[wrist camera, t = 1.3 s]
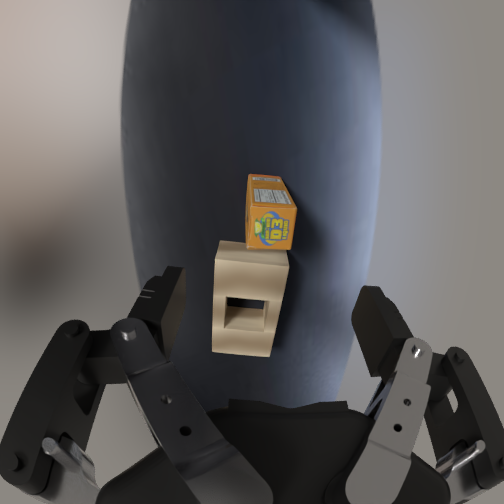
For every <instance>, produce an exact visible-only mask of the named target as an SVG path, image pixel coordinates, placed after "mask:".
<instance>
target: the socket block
mask: <svg viewBox="0 0 504 504" xmlns="http://www.w3.org/2000/svg"><path fill="white" fill-rule="evenodd" d="M288 271H289V262H288V257H287V252H286V250H280V249H257V250H248V249H247V248H246V243H240V242H230V241H220V243H219V247H218V251H217V254H216V258H215V274H214V298H213V330H212V352H220V353H230V354H240V355H251V356H264V357H269V356H270V352H271V348H272V344H273V339H274V335H275V331H276V326H277V322H278V317H279V313H280V308H281V304H282V299H283V294H284V290H285V285H286V280H287V275H288ZM227 297H235V298H245V299H255V300H265V303H264V309H253V308H242V307H233V306H227Z"/></svg>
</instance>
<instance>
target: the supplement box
mask: <svg viewBox="0 0 504 504" xmlns="http://www.w3.org/2000/svg"><path fill="white" fill-rule="evenodd" d="M296 213H297V207H296V205H295V204H294V202H293V200H292V198H291V196H290V194H289V192H288V190H287V188H286V187H285V185H284V183H283V181H282V179H281V177H277V176H268V175H257V174H249V176H248V185H247V199H246V248H247V249H248V250H257V249H280V250H290V249H291V245H292V240H293V234H294V227H295V220H296Z"/></svg>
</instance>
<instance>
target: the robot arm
mask: <svg viewBox="0 0 504 504" xmlns="http://www.w3.org/2000/svg"><path fill="white" fill-rule="evenodd" d="M185 304H186V280H185V268H181V267H173V266H167V268H166V270H165V272H164V274H163V275H162V277H161V276H154V277H153V278H151V279H150V280H149V281H147V283H146V284H145V286H144V288H143V291H141V293H140V295H139V297H138V298H137V300H136V302H135V304H134V306H133V308H132V309H131V311H130V313H129V315H128V317H127V318H125V319H121V320H119V321H117V322H116V323H114V325H113V326H112V327H111V329H110V330H99V331H90V329H89V326H88V325H87V324H86V323H85V322H83V321H81V320H70V321H67V322H65V323H63V324H62V325H61V326H60V327H59V328H58V329H57V331H56V333H55V334H54V336H53V337H52V339H51V341H50V342H49V344H48V346H47V348H46V349H45V351H44V353H43V354H42V356H41V358H40V360H39V361H38V363H37V365H36V367H35V369H34V371H33V373H32V374H31V377H30V378H29V380H28V382H27V384H26V386H25V388H24V390H23V392H22V394H21V397H20V398H19V401H18V403H17V405H16V407H15V409H14V412H13V414H12V416H11V418H10V421H9V423H8V426H7V428H6V431H5V433H4V436H3V439H2V441H1V444H0V474H1V476H2V477H3V479H4V480H6V481H7V482H8V483H10V484H12V485H13V486H15V487H17V488H19V489H20V490H21V491H23V492H24V493H26V494H27V495H30V496H32V497H33V498H35V499H38V500H39V501H42V502H44V503H48V504H463V503H465V502H467V501H469V500H471V499H473V498H475V497H476V496H478V495H480V494H482V493H484V492H486V491H487V490H489V489H491V488H492V487H494V486H496V485H497V484H499V483H500V482H502V481H504V428H503V426H502V423H501V421H500V419H499V416H498V414H497V411H496V409H495V407H494V405H493V402H492V400H491V398H490V396H489V394H488V392H487V390H486V387H485V386H484V384H483V382H482V380H481V377H480V376H479V374H478V372H477V370H476V368H475V366H474V364H473V362H472V360H471V359H470V357H469V355H468V354H467V353H466V352H465V351H464V350H463V349H461V348H458V347H450V348H449V349H448V351H447V352H446V354H445V355H442V354H438V353H433V352H432V349H431V347H430V346H429V345H428V344H427V343H426V342H425V341H423V340H421V339H419V338H414V337H413V335H412V333H411V332H410V330H409V328H408V326H407V324H406V322H405V321H404V320H403V317H402V315H401V314H400V313H399V310H398V309H397V307H396V306H395V304H394V303H393V302H392V301H390V299H389V298H386V297H385V295H384V293H383V292H382V290H381V288H380V287H377V286H363V287H362V288H361V291H360V293H359V296H358V299H357V301H356V304H355V307H354V309H353V312H352V318H351V320H352V326H353V328H354V331H355V334H356V336H357V339H358V342H359V344H360V347H361V350H362V353H363V355H364V358H365V361H366V364H367V367H368V370H369V373H370V375H371V377H378V376H381V378H382V380H381V381H380V383H379V384H378V387H377V389H376V391H375V393H374V395H373V397H372V399H371V401H370V403H369V405H368V407H367V409H366V411H365V413H364V414H363V413H361V412H358V411H355V410H351V409H348V405H347V401H334V402H318V403H314V404H310V405H306V406H302V407H297V408H285V407H281V406H277V405H273V404H269V403H265V402H261V401H250V400H237V399H229V404H228V407H223V408H218V409H214V410H211V411H208V412H206V413H205V411H204V410H203V408H202V407H201V405H200V404H199V403H198V401H197V400H196V398H195V397H194V395H193V394H192V392H191V391H190V389H189V388H188V386H187V385H186V383H185V382H184V380H183V379H182V377H181V375H180V374H179V372H178V371H177V369H176V367H175V366H174V364H173V363H172V362H171V361H168V360H169V357H170V354H171V350H172V347H173V344H174V341H175V338H176V334H177V331H178V328H179V325H180V322H181V319H182V316H183V313H184V309H185ZM121 383H127V385H128V388H129V390H130V392H131V394H132V397H133V399H134V401H135V403H136V405H137V407H138V409H139V411H140V413H141V415H142V417H143V420H144V421H145V424H146V426H147V428H148V430H149V432H150V434H151V436H152V437H153V439H154V441H155V443H156V445H157V446H158V448H156V449H155V450H153V451H152V452H151V453H149V454H148V455H147V456H145V457H144V458H142V459H141V460H140V461H138V462H137V463H135V464H134V465H133V466H131V467H130V468H128V469H127V470H125V471H124V472H122V473H121V474H119V475H118V476H116V477H115V478H113V479H112V480H110V481H109V482H107V483H106V484H105V485H104V486H103V487H102V488H101V489H100V488H99V487H98V485H97V484H96V481H95V467H94V464H93V462H92V460H91V458H90V457H89V456H88V455H87V454H86V453H85V450H86V446H87V442H88V439H89V436H90V432H91V429H92V425H93V422H94V419H95V416H96V413H97V410H98V407H99V404H100V400H101V397H102V394H103V392H104V389H105V386H106V384H121ZM452 389H453V391H454V393H455V396H456V398H457V401H458V408H457V410H456V412H455V413H454V412H453V410H452V407H451V404H450V402H449V399H448V397H447V394H448V393H449V392H450V391H451V390H452ZM423 416H424V418H425V421H426V425H427V428H428V431H429V435H430V438H431V442H432V445H433V449H434V453H435V457H436V461H437V464H436V469H434V468H432V467H431V466H430V465H428V464H427V463H426V462H424V461H423V460H422V459H421V458H420V457H418V456H417V455H416V454H415V453H413V452H412V449H413V447H414V444H415V441H416V438H417V435H418V432H419V429H420V426H421V423H422V420H423Z"/></svg>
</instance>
